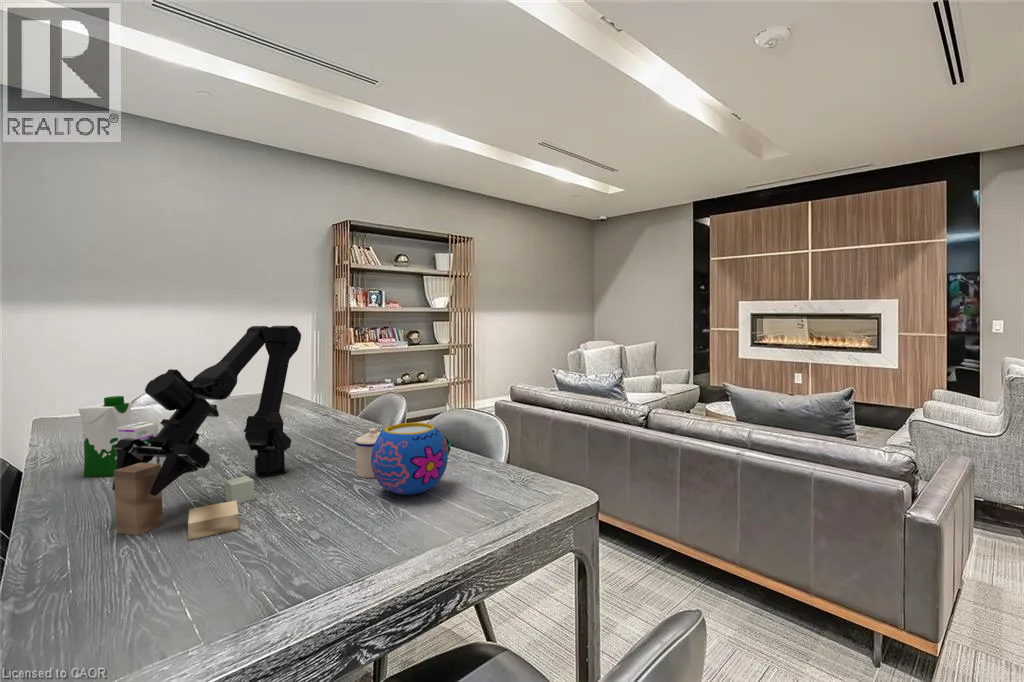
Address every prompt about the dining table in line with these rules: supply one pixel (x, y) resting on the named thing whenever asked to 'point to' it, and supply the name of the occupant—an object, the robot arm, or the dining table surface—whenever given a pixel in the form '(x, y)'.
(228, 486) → the sage cube
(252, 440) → the robot arm
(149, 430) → the syrup box
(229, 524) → the oak slab
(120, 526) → the walnut block
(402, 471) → the ceramic pot
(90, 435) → the milk carton
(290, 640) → the dining table surface
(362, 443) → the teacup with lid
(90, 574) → the dining table surface
